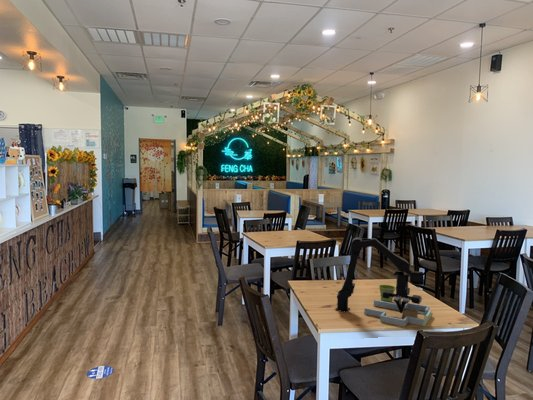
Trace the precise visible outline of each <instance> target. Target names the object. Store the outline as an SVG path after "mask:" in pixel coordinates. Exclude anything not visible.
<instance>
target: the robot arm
mask: <svg viewBox="0 0 533 400" xmlns="http://www.w3.org/2000/svg"><path fill="white" fill-rule="evenodd" d="M371 247H372V248H375V249H376V250H377V251H378V252H380V254H382V255H383V256H385V257H386V258H387V259H388V260H389V261H391V262H392V264H393V265H394V266H395V268H396V269H395V271H393V272H392V274H393V276H396V286H395V287H396V289H395V292H394V293H393V292H392V291H388V290H386V291H384V292H383V294H382V297H383V298H387V299H388V298H389V297H393V300H392V302H395V304H397V306H398V309H399V310H398V311H399V313H400V314H403V309H404V307H405V305H406V303H410V301H411V303H413V304H419V305H421V303H422V301H423V300H422V296H421V295H418V294H413V295H412V296H411V295H410V294H411V293H410V291H411V288H410V287H409V283H410V284H411V285H414V286H416V285H417V286H424V284H425V278H424V272H423V271H412V268H411V267H410V263H409V262H408V261H407V259H405V258H403V257H402V256H400V255H397V254H396V253H394V252H393V251H392V250H390V249H389V247H387V246H385V244H383V243H382V242H380V241H379V240H378V239H377V238H375V237H372V238H361V237H355V238H353V239H352V240H351V249H350V250H351V253H350V258H349V259H350V260H349V265H348V267H347V273H346V277H345V280H344V282H343V283H342V287H341V289H340V290H339V291H337V295H336V298H337V301H336V302H337V303H336V307H335V308H334V310H335V309H336V310H335V311H338V310H341V311H340V312H343V311H345V312H344V313H346V311H347V312H349V310H351V307H349V298H351V296H352V295H353V294H354V291H355V287H356V283H354V282H353V281H354V278H355V276H354V275H355V271H356V268H357V262H358V258H359V255H360V254H361V251H362V249H364V248H365V249H366V248H371ZM409 295H410V296H409Z"/></svg>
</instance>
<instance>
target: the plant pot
mask: <svg viewBox="0 0 533 400" xmlns="http://www.w3.org/2000/svg"><path fill="white" fill-rule="evenodd" d="M378 287H379V288H378V289H379V293H380V301H383V302H389V303H393V300H394V297H389V298H388V299H387V298H383V297H382V294H383V292H384V291H386V290H388V291H392V292H393V293H394V294H395V292H396V286H394V285H390V284H380V285H378Z"/></svg>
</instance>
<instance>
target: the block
mask: <svg viewBox="0 0 533 400" xmlns="http://www.w3.org/2000/svg"><path fill="white" fill-rule="evenodd" d="M401 314H402V316H401V317H402V318H401V319H403V320H404V318H405V317H406V316H409V317H414V318H419V317H418V310H416V309H411V308H405V309H404V310H403V312H402V313H401Z"/></svg>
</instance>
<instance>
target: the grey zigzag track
mask: <svg viewBox="0 0 533 400" xmlns="http://www.w3.org/2000/svg"><path fill="white" fill-rule="evenodd" d="M373 306H375V307H379V308H383V309H384V308H385V309H389V310H394V311H399V309H398V306H397V304H396V303H393V302H391V303H390V302H383V301H381V300H377V299H374V300H373ZM430 307H431V306H429V305H423V304H416V303H412V302H408V303H406V305H405V307H404V309H405V308H411V309H416V310H418V314H420V315H424V317H423V318H419V317H417V318H414V317H409V316H406V317H405V318H404V319H403V318H397V317H393V316H387V311H383V310H379V309H373V308H369V307H364V313H363V314H364V315H367V314H368V315H367V316H373V317H379V322H380V321H381V323H385V324H391V325H396V326H400V327H406V326H407V324H412V325H417V326H421V327H425V326H426V325H427V324H428V322H429V321H430V319H431V318H432V310H431V309H430ZM404 309H403V310H404Z"/></svg>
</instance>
